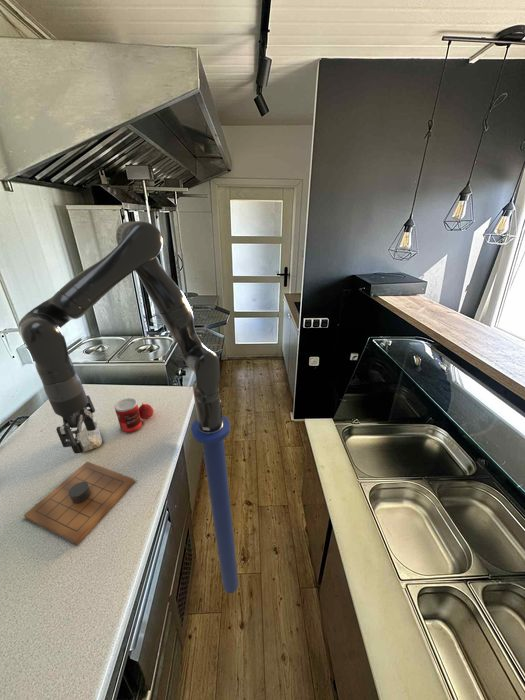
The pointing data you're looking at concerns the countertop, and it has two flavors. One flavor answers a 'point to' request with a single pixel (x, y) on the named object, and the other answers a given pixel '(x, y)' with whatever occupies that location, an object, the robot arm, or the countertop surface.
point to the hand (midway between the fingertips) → (86, 440)
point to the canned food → (128, 415)
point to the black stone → (79, 492)
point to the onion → (145, 411)
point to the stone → (90, 438)
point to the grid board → (81, 517)
